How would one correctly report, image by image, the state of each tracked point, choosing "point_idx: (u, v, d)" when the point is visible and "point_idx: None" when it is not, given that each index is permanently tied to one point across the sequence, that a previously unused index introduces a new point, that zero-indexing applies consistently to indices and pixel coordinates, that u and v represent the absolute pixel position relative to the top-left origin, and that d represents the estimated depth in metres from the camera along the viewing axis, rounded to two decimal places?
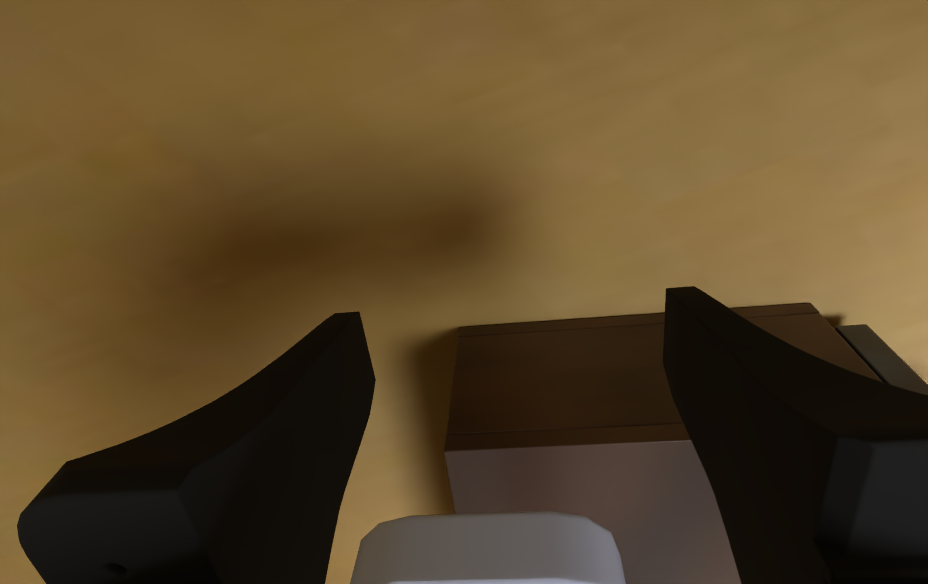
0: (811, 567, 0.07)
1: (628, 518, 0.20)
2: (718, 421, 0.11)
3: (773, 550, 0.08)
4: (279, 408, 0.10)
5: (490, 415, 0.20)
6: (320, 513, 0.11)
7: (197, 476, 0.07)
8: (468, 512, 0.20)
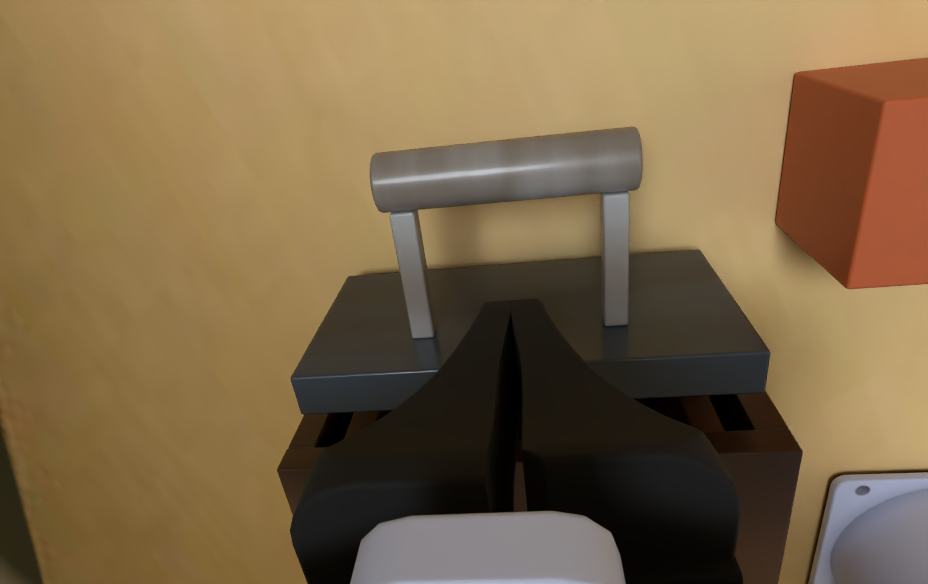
0: None
1: None
2: None
3: None
4: (497, 396, 0.09)
5: None
6: (511, 506, 0.11)
7: (487, 464, 0.07)
8: None
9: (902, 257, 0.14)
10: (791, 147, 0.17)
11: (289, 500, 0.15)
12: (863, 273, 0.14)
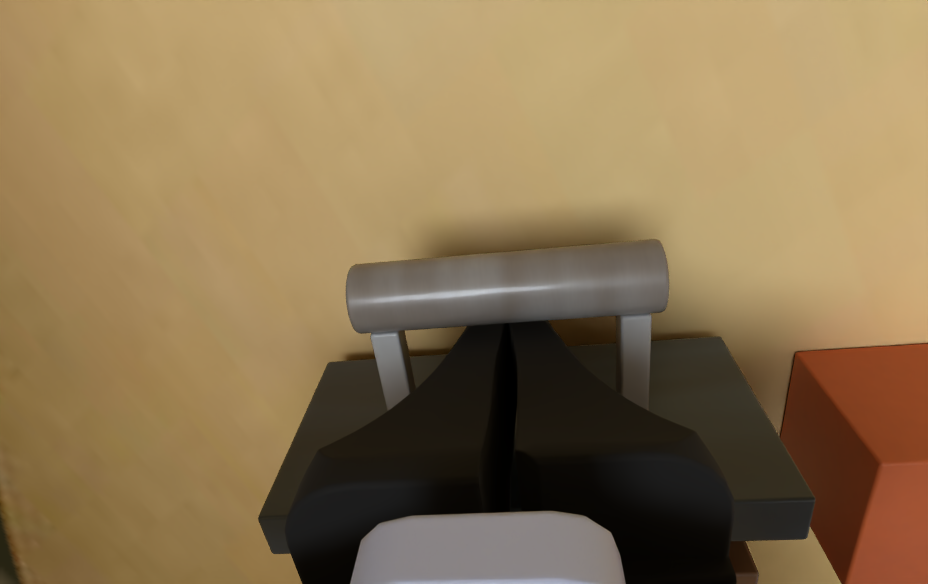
0: None
1: None
2: None
3: None
4: (492, 396, 0.09)
5: None
6: (506, 506, 0.11)
7: (480, 463, 0.07)
8: None
9: (895, 569, 0.15)
10: (791, 413, 0.18)
11: None
12: (860, 579, 0.15)
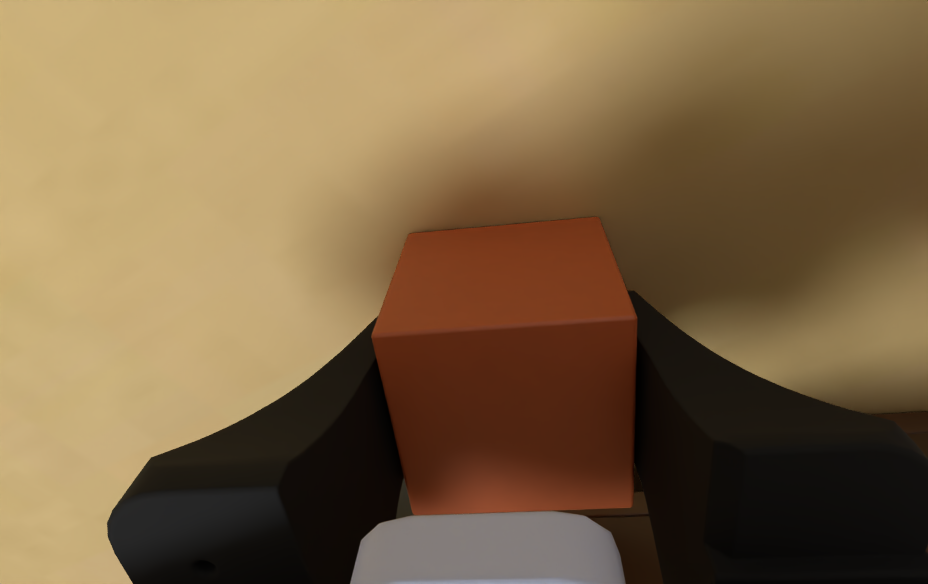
0: (703, 570, 0.07)
1: None
2: (644, 425, 0.11)
3: (680, 552, 0.09)
4: (352, 404, 0.09)
5: None
6: (383, 510, 0.11)
7: (292, 472, 0.07)
8: None
9: (591, 471, 0.11)
10: None
11: None
12: (611, 499, 0.12)
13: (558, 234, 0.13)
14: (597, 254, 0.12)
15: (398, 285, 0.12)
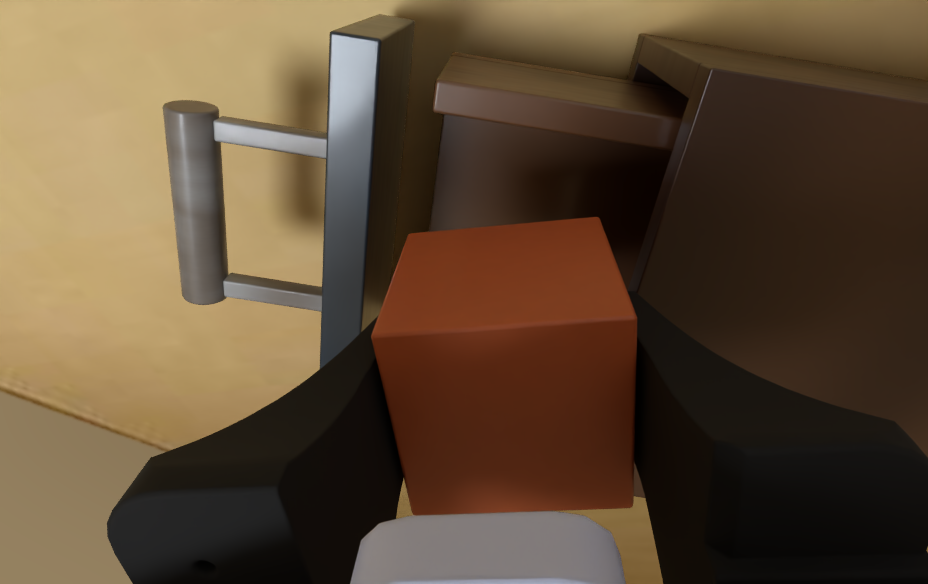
0: (703, 570, 0.07)
1: None
2: (645, 425, 0.11)
3: (681, 552, 0.09)
4: (351, 404, 0.09)
5: None
6: (383, 510, 0.11)
7: (291, 472, 0.07)
8: None
9: (591, 471, 0.11)
10: None
11: None
12: (611, 499, 0.12)
13: (558, 235, 0.13)
14: (598, 254, 0.12)
15: (398, 285, 0.12)
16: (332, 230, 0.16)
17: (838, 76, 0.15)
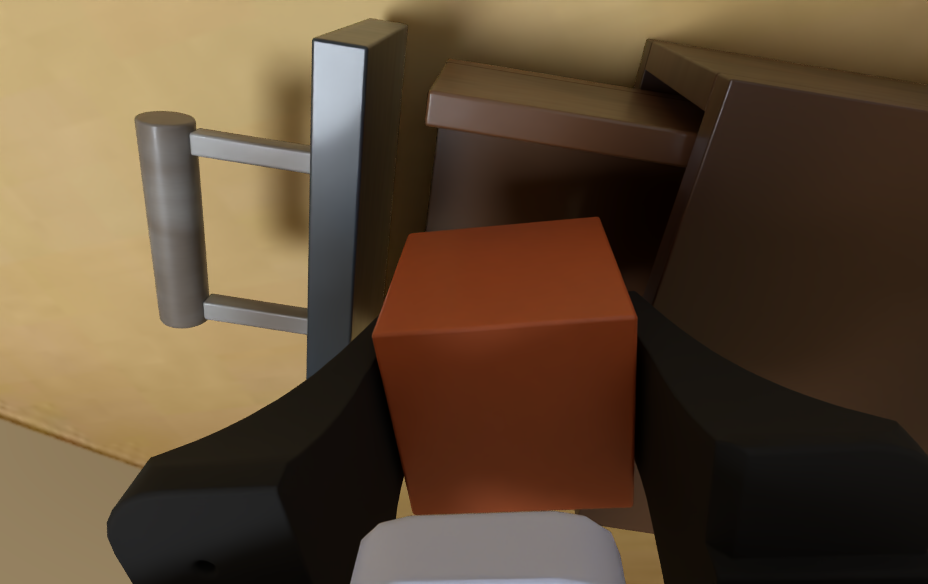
0: (704, 569, 0.07)
1: None
2: (645, 424, 0.11)
3: (682, 552, 0.09)
4: (351, 403, 0.09)
5: None
6: (382, 510, 0.11)
7: (291, 472, 0.07)
8: None
9: (592, 471, 0.11)
10: None
11: (612, 526, 0.17)
12: (611, 499, 0.12)
13: (559, 234, 0.13)
14: (598, 254, 0.12)
15: (398, 284, 0.12)
16: (317, 252, 0.15)
17: (864, 86, 0.14)
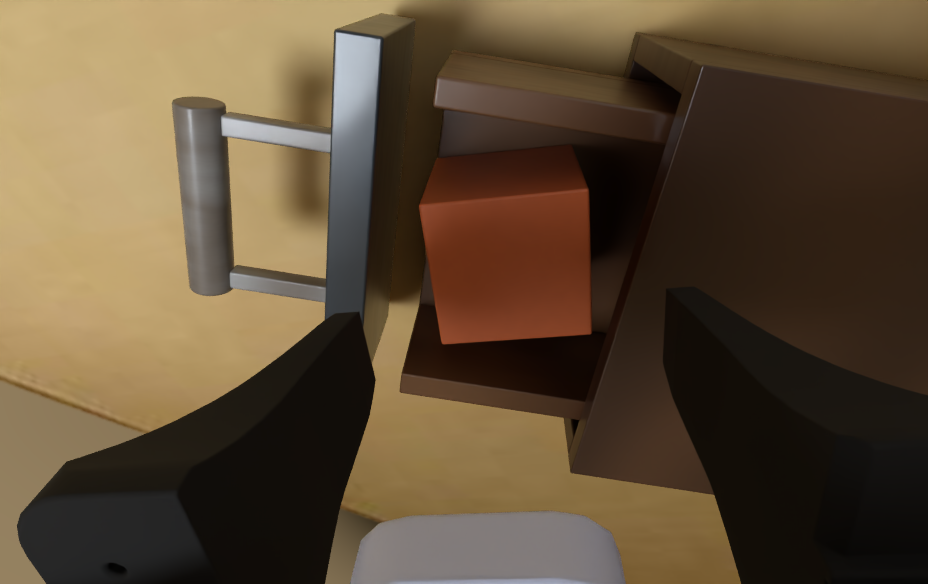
0: (811, 567, 0.07)
1: None
2: (718, 421, 0.11)
3: (773, 550, 0.08)
4: (279, 408, 0.10)
5: None
6: (320, 513, 0.11)
7: (197, 476, 0.07)
8: None
9: (563, 305, 0.17)
10: None
11: (603, 476, 0.19)
12: (577, 327, 0.17)
13: (543, 154, 0.19)
14: (568, 162, 0.18)
15: (432, 182, 0.18)
16: (336, 222, 0.16)
17: (827, 73, 0.16)
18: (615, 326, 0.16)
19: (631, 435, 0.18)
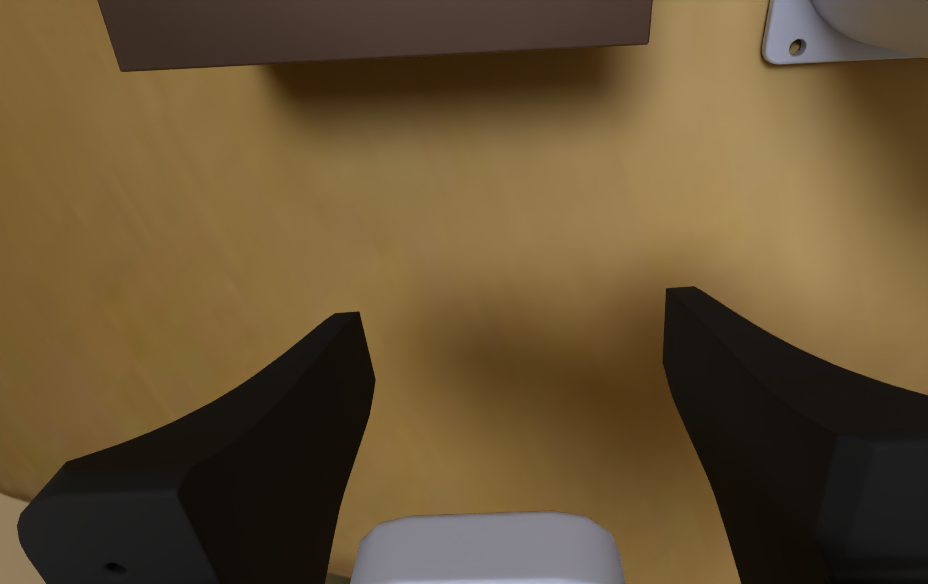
0: (811, 567, 0.07)
1: None
2: (718, 421, 0.11)
3: (773, 550, 0.08)
4: (279, 408, 0.10)
5: None
6: (320, 513, 0.11)
7: (197, 476, 0.07)
8: (227, 44, 0.14)
9: None
10: None
11: None
12: None
13: None
14: None
15: None
16: None
17: None
18: None
19: None
